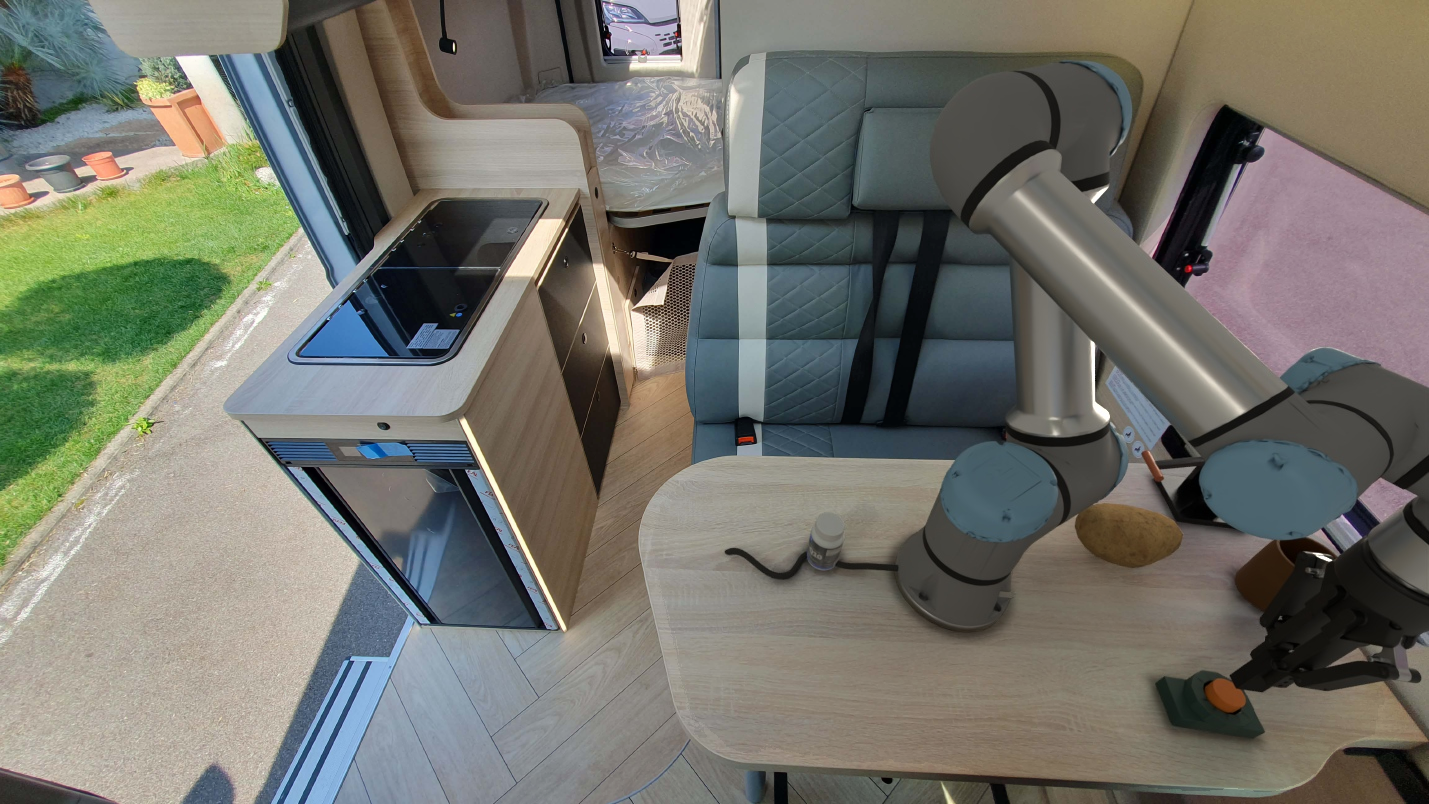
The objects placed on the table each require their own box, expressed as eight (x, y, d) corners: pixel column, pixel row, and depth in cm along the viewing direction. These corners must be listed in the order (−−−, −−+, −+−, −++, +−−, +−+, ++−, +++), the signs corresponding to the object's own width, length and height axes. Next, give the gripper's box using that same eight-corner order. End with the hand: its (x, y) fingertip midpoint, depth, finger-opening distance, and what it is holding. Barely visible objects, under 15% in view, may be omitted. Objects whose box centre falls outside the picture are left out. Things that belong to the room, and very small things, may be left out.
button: (1212, 710, 66) (1221, 704, 65) (1199, 682, 69) (1207, 676, 68) (1242, 715, 66) (1251, 709, 65) (1228, 686, 68) (1237, 680, 67)
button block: (1173, 730, 68) (1192, 718, 65) (1152, 678, 73) (1169, 664, 70) (1256, 744, 67) (1279, 732, 64) (1229, 690, 72) (1250, 676, 69)
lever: (1154, 484, 88) (1156, 474, 87) (1140, 458, 92) (1141, 448, 91) (1259, 475, 84) (1263, 464, 83) (1239, 448, 88) (1243, 437, 87)
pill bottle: (799, 549, 86) (806, 515, 80) (827, 539, 87) (835, 505, 82) (816, 576, 83) (824, 542, 77) (844, 564, 84) (854, 530, 78)
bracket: (1176, 521, 91) (1225, 467, 82) (1152, 478, 97) (1196, 424, 89) (1245, 530, 90) (1302, 476, 81) (1216, 486, 96) (1267, 431, 88)
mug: (1330, 654, 75) (1388, 619, 69) (1267, 646, 76) (1318, 610, 70) (1277, 573, 84) (1324, 535, 78) (1221, 566, 85) (1263, 528, 78)
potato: (1177, 583, 82) (1210, 552, 77) (1076, 575, 83) (1101, 543, 78) (1146, 527, 90) (1174, 495, 84) (1053, 519, 91) (1075, 487, 85)
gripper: (1541, 649, 43) (1318, 754, 59) (1413, 511, 53) (1250, 633, 69) (1429, 633, 44) (1239, 741, 60) (1323, 500, 54) (1183, 623, 70)
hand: (1245, 683), depth 64 cm, fingers closed
